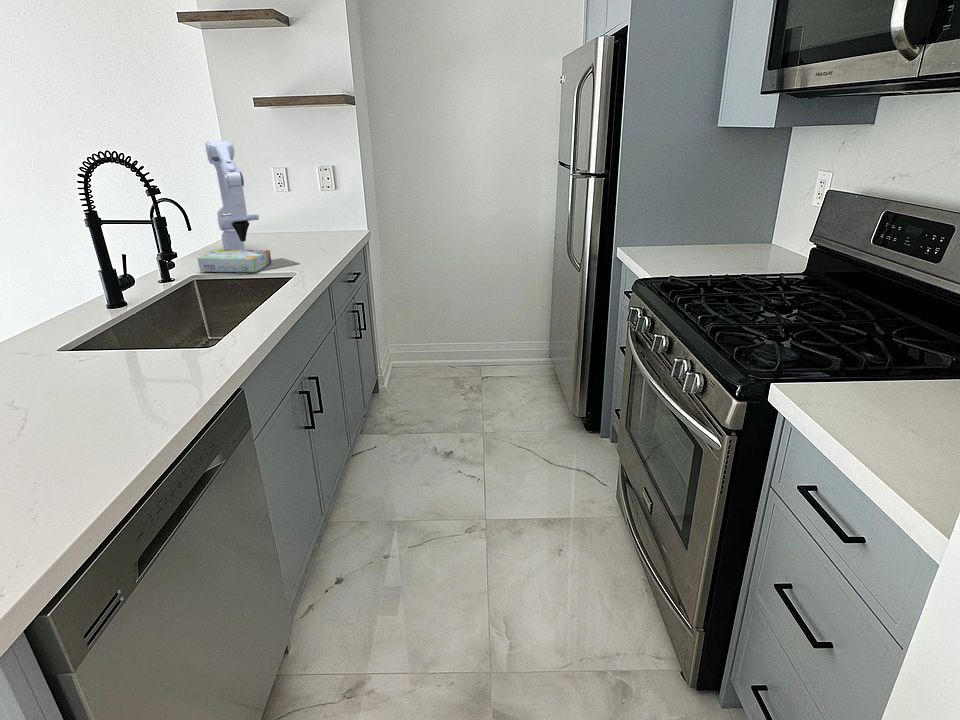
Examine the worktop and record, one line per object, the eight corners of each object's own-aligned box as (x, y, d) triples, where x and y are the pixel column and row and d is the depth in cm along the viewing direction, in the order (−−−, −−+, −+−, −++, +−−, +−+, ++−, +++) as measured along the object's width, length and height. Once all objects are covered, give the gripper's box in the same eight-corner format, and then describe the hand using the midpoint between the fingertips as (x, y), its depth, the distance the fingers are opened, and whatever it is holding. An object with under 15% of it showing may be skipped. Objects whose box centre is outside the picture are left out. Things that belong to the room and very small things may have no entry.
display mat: (223, 268, 232) (222, 268, 232) (282, 258, 248) (282, 257, 247) (239, 275, 223) (239, 274, 223) (300, 264, 238) (299, 263, 238)
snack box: (270, 248, 236) (253, 258, 222) (272, 263, 238) (255, 273, 224) (216, 248, 238) (196, 258, 224) (218, 262, 240) (199, 273, 226)
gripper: (223, 208, 227) (229, 245, 232) (260, 203, 236) (265, 239, 241) (215, 206, 231) (221, 242, 236) (252, 202, 241) (257, 237, 246)
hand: (242, 241), depth 239 cm, fingers closed
